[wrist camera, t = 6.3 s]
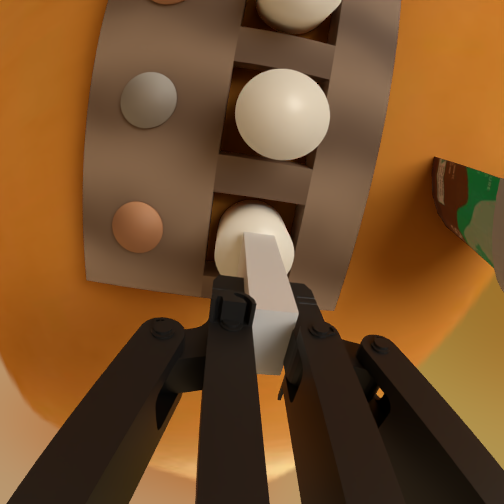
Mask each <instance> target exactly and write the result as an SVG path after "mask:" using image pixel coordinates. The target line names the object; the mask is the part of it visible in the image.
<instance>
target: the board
mask: <svg viewBox="0 0 504 504" xmlns="http://www.w3.org/2000/svg"><path fill="white" fill-rule="evenodd" d="M246 1H247V0H108V3H107V7H106V11H105V15H104V19H103V23H102V27H101V32H100V36H99V41H98V46H97V51H96V57H95V62H94V68H93V74H92V81H91V88H90V95H89V103H88V112H87V122H86V133H85V147H84V166H83V234H84V254H85V268H86V280H88V281H94V282H100V283H106V284H112V285H118V286H125V287H131V288H138V289H144V290H151V291H158V292H165V293H172V294H180V295H187V296H195V297H203V298H211V295H212V287H213V280H214V279H215V278H216V277H217V276H218V275H221V274H220V273H219V271H218V269H217V267H216V263H215V262H211V261H206V254H207V246H208V237H209V229H210V221H211V213H212V205H213V197H214V192H219V193H227V194H234V195H241V196H249V197H255V198H262V199H269V200H276V201H282V202H288V203H295V204H297V206H296V211H295V216H294V220H293V225H292V230H291V234H290V238H291V240H292V243H293V246H294V260H293V264H292V266H291V269H290V270H289V272H288V274H287V277H288V280H289V282H293V283H302V284H305V285H306V286H307V287H308V288H309V289H311V290H312V293H313V295H314V297H315V300H316V302H317V305H318V307H319V310H330V311H334V309H335V307H336V304H337V301H338V298H339V295H340V291H341V288H342V285H343V282H344V279H345V276H346V273H347V269H348V266H349V263H350V260H351V256H352V253H353V249H354V246H355V243H356V239H357V236H358V232H359V228H360V225H361V221H362V217H363V214H364V210H365V206H366V202H367V198H368V194H369V190H370V186H371V182H372V178H373V174H374V169H375V165H376V160H377V156H378V151H379V147H380V142H381V137H382V132H383V127H384V122H385V117H386V111H387V106H388V100H389V94H390V88H391V82H392V75H393V69H394V62H395V54H396V46H397V38H398V29H399V19H400V8H401V0H342V1H341V3H340V4H339V6H338V7H337V8H336V9H335V10H334V11H333V12H332V15H331V21H330V28H329V34H328V40H327V44H326V43H322V42H318V41H314V40H310V39H306V38H302V37H297V36H293V35H288V34H283V33H278V32H273V31H267V30H261V29H255V28H248V27H241V26H242V21H243V16H244V11H245V6H246ZM234 67H238V68H245V69H252V70H258V71H264V72H265V71H268V70H272V69H291V70H295V71H298V72H301V73H303V74H305V75H307V76H308V77H310V78H311V79H312V80H314V81H315V82H318V83H320V88H321V89H322V91H323V92H324V94H325V96H326V98H327V101H328V104H329V110H330V121H329V126H328V130H327V132H326V135H325V137H324V138H323V140H322V141H321V143H320V144H319V145H318V146H317V147H316V148H315V149H314V150H313V151H311V152H310V153H308V154H307V157H306V162H305V164H302V163H297V162H291V161H285V160H275V159H271V158H268V157H262V156H255V155H249V154H242V153H235V152H228V151H220V148H221V141H222V134H223V128H224V122H225V115H226V109H227V103H228V97H229V91H230V85H231V80H232V74H233V68H234Z"/></svg>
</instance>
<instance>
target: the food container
mask: <svg viewBox="0 0 504 504" xmlns="http://www.w3.org/2000/svg"><path fill="white" fill-rule="evenodd" d="M432 192H433V198H434V201H435V205H436V209H437V212H438V214H439V216H440V217H441V219H442V220H443V222H444V224H445V225H446V227H448V228H449V229H450V230H451V231H452V232H454V233H455V234H456V235H457V236H458V237H460V238H461V239H462V240H463V241H464V242H465V243H467V244H468V245H469V246H470V247H471V248H472V249H473V250H475V251H476V252H477V253H478V254H479V255H480V256H481V257H482V258H483V259H484V260H486V261H487V262H488V263H489V264H490V265H491V266H492V267H493V268H494V270H495V273H496V277H497V281H498V283H499V285H500V287H501V289H502V291H504V179H503V178H498V177H495V176H492V175H490V174H487V173H484V172H481V171H478V170H475V169H472V168H469V167H466V166H463V165H460V164H457V163H454V162H451V161H447V160H444V159H441V158H437V157H434V163H433V169H432Z"/></svg>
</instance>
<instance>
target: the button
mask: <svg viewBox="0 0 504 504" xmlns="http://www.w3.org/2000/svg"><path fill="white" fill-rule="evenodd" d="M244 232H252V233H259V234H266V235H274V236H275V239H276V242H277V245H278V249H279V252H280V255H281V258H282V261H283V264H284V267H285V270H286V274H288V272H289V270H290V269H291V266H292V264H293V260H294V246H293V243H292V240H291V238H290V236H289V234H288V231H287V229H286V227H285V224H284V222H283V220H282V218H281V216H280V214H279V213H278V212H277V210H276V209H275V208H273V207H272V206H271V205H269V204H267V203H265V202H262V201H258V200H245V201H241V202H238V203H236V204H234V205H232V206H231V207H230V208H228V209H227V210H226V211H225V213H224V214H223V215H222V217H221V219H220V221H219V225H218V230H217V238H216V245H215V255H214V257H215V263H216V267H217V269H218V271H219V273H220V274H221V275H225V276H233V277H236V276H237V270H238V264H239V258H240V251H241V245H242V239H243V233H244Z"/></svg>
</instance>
